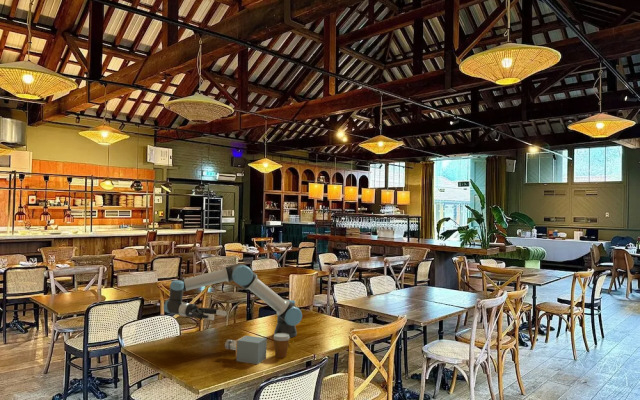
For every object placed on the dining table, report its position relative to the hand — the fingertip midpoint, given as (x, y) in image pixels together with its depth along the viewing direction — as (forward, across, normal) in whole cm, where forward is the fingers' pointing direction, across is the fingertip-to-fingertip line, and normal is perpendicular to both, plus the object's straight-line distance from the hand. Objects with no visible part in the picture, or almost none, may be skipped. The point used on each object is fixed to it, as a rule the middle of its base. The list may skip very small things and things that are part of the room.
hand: (220, 315), depth 253 cm
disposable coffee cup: (+34, -13, -20) cm, 42 cm away
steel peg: (+13, 0, -17) cm, 21 cm away
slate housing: (+22, -1, -21) cm, 30 cm away
